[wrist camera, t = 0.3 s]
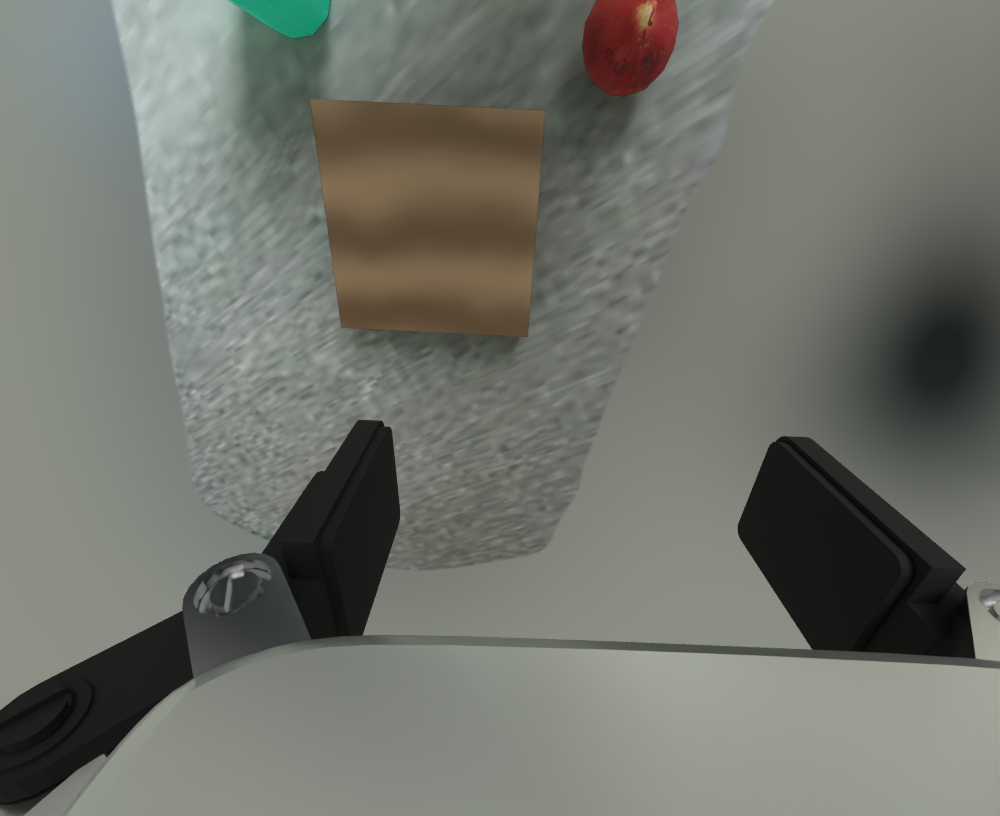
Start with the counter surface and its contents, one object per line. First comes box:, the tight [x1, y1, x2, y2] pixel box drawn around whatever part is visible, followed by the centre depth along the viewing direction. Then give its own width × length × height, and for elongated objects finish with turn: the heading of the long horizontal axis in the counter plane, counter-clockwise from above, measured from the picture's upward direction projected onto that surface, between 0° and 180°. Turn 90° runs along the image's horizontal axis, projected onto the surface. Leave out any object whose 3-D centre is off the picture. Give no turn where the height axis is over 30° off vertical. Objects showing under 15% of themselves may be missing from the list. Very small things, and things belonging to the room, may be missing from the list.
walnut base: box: [310, 99, 545, 337], centre depth 34 cm, size 16×16×4 cm
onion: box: [582, 0, 679, 97], centre depth 27 cm, size 6×6×8 cm
